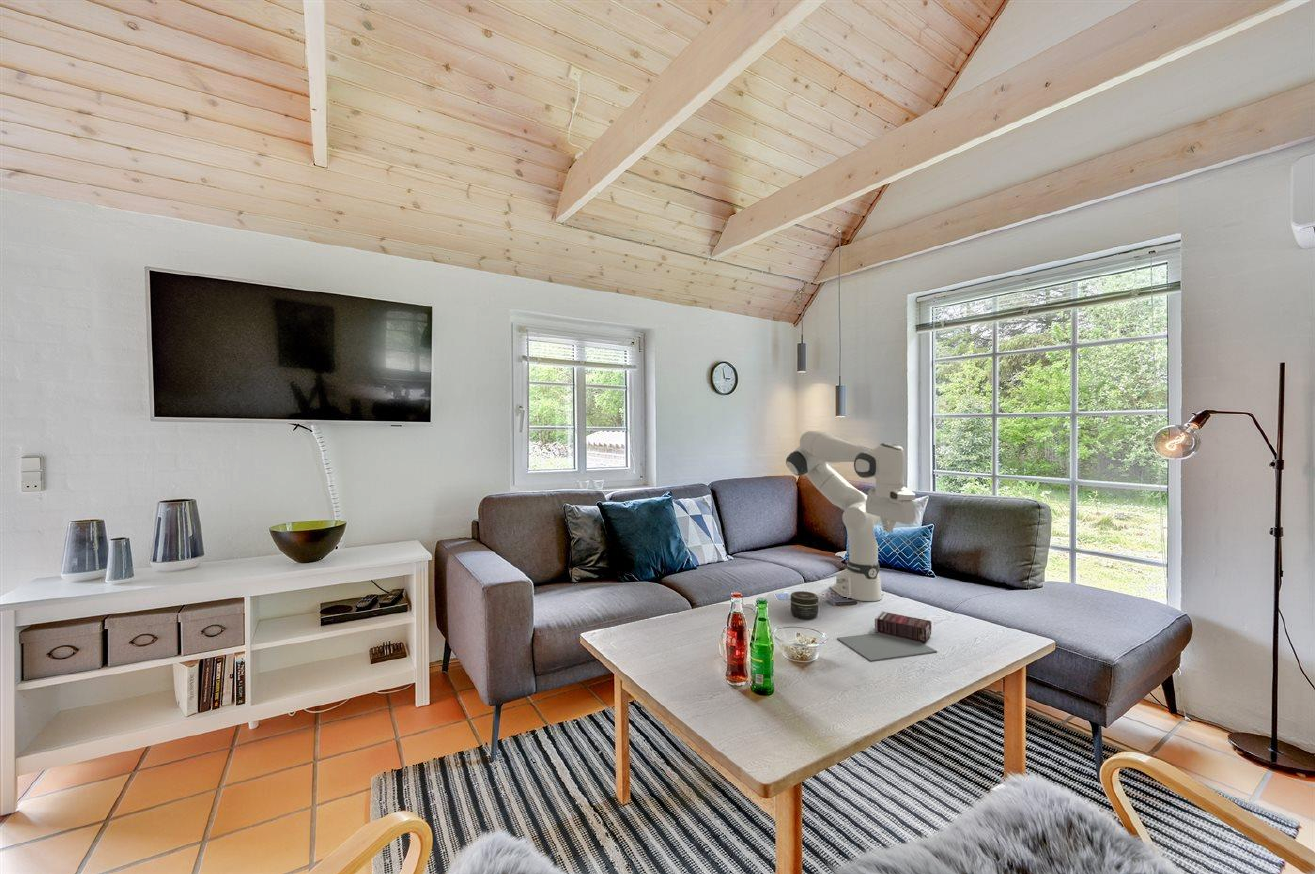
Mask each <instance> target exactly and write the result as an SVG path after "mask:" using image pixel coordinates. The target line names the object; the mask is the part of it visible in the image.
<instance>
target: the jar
mask: <svg viewBox="0 0 1315 874" xmlns="http://www.w3.org/2000/svg"><path fill="white" fill-rule="evenodd" d="M790 612H791V615H792V616H793V617H794V618H796V619H799V620H807V621H809V620H814V619H816V618H817V617H818V614H819V595H817V594H816V593H813V592H810V591H806V590H805V591H801V590H800V591H799V590H798V591H793V592H792V593H790Z"/></svg>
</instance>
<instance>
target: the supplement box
mask: <svg viewBox="0 0 1315 874" xmlns="http://www.w3.org/2000/svg"><path fill="white" fill-rule="evenodd" d="M874 632H875V633H885V634H889V635H894V636H899V637H903V638H908V639H912V640H917V641H919V642H921V643H927V641H928V640H929V639H930V637H931V635H932V621H931V620H929V619H922V618H917V617H913V616H907V615H903V614H897V613H891V612H886V611H881V612H879V613H878V615H877V616H876V617H875V618H874Z"/></svg>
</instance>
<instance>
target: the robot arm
mask: <svg viewBox="0 0 1315 874" xmlns="http://www.w3.org/2000/svg"><path fill="white" fill-rule="evenodd" d="M905 456H906V455H905V450H904V449H903V447H902V446H900V445H899V444H897V443H890V442H889V443H888V442H884V443H879V444H878V446H877V447H875V448H869V447H865V446H862V445H858V444H855V443H853V442H852V441H847V440H844V439H842V438H840V437H837V436H836V435H832V434H829V433H827V432H822V431H818V430H807V431H806V432H804V433H803V434H801V436H800V438H799V445H798V447H796V448H795V450H793V451H791V453H789V454H788V455H787V457H786V459H785V464H786V467H787V468H788V469H789V471H790V472H791V473H792V474H794V475H795V476H798V477H801V476H804V475H806V477H807V479H808V480H809V481H810V482H811V484H812V486H814V487H815V488H816V489H817V490H818V491H819V492H820V493H821V494H822V495H823V497H825V498H826V499H827V500H828V501H829V502H830V503H831V504H832V505H834V506H836V507H838V508H840V509H841V510H843V513H842V516H841V517H842V522H843V524H844V526H845V529H846V532H847V537H848V545H849V546H848V554H849V555H848V557H849V558H848V560H847V559H845V564H846V567H845V569H843V570H841V571H840V572H838V573H837V574H836V577H835V578H836V579H835V583H832V584H830V585H829V588H830V589H831V590H833V591H834V592H836V594H837V595H839V596H840V595H841V597H842V596H843V597H847V598H846V599H848V598H852V599H851V600H856V601H861V602H862V601H863V602H877V601H881V600H882V598H883V596H884V591H882V580H881V575H880V574H879V573H880V562H879V544H878V541H877V540H876V535H875V526H877V525H878V524H880V523H881V525H882V531H884V532H886V533H893V532H894V527H895V526H896V524H897V523H900V524H904V525H910V524H913V523H914V522H915V519H916V504H915V502H914V501H915V500H916V494H915V493H914V492H913V491H911V490H909V489H908V488H907V487H906V486H905V481H904V474H905V471H906V457H905ZM829 463H831V464H834V463H837V464H838V463H853V469H854V472H855V474H856V475H857V476H858V477H859V478H862V479H870V480H871V479H875V487H871V488H870V489H869V490H868V491H867V493H868V494H865V493H863V492H862V491H860V490H859V489H857V487H854V486H853V485H852V484H851V483H850V482H849V481H847V480H846V479H845V478H844V477H843V476H842V475H841V474H840V473H839V472H837V471H836V469H834V468H833V467H831V465H829ZM843 597H842V598H843Z"/></svg>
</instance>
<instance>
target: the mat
mask: <svg viewBox="0 0 1315 874" xmlns="http://www.w3.org/2000/svg"><path fill="white" fill-rule="evenodd" d="M836 640H838V641H839V642H840V643H842V644H844V645H845V646H847V647H848V648H850V649H851V650H852V651H855V652H856V653H857V654H859V655H861V657H863V658H865V660H868V661H869V662H878V661H884V660H890V659H892V660H893V659H899V658H905V657H907V658H908V657H913V656H919V655H929V654H934V653H938V650H936V649H934V648H932V647H931V646H929V645H927V644H925V643H924V642H921V641H917V640H912V639H908V638H903V637H899V636H894V635H889V634H885V633H880V632H874V633H867V634H864V633H863V634H857V635H856V634H855V635H849V636H848V635H847V636H841V637H837V638H836Z"/></svg>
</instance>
